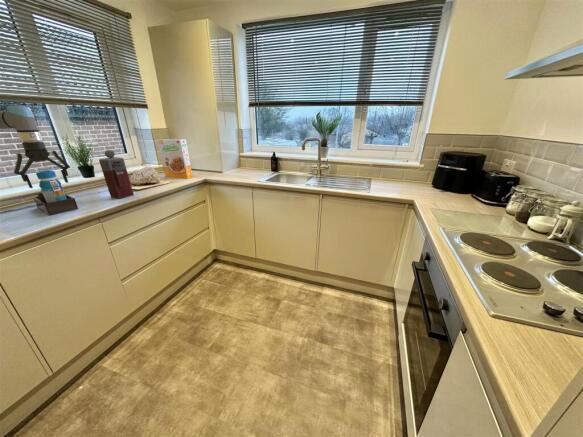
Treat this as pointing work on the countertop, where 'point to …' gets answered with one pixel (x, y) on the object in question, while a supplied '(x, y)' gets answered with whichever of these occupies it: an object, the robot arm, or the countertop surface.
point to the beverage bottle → (50, 186)
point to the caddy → (55, 204)
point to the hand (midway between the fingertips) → (49, 184)
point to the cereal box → (175, 158)
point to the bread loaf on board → (146, 178)
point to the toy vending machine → (116, 176)
